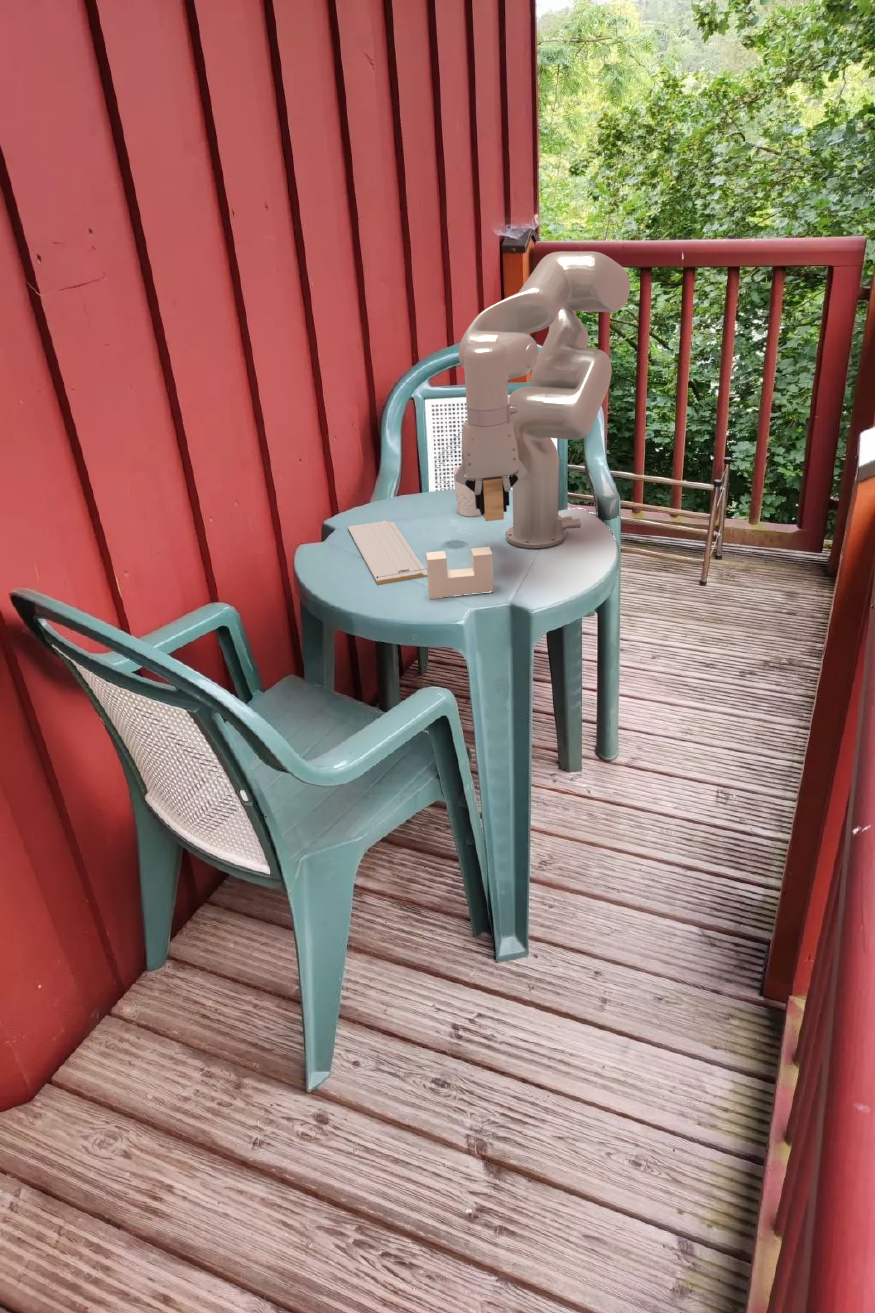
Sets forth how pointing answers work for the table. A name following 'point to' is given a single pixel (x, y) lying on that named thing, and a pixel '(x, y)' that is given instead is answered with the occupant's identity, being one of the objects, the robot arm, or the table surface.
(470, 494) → the white cup
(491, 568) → the cream upright board
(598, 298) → the robot arm
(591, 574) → the table surface
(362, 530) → the baseboard molding
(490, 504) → the oak slotted board
